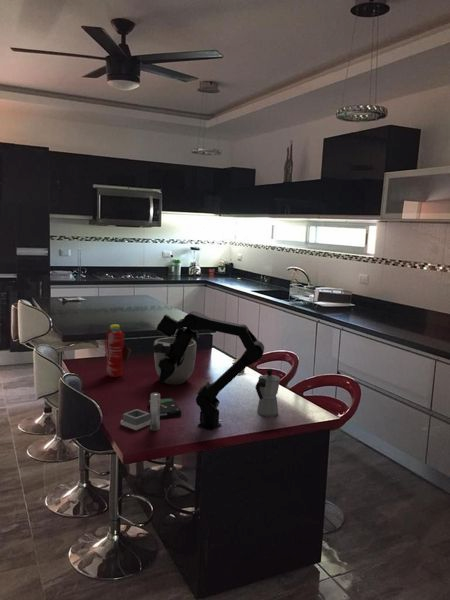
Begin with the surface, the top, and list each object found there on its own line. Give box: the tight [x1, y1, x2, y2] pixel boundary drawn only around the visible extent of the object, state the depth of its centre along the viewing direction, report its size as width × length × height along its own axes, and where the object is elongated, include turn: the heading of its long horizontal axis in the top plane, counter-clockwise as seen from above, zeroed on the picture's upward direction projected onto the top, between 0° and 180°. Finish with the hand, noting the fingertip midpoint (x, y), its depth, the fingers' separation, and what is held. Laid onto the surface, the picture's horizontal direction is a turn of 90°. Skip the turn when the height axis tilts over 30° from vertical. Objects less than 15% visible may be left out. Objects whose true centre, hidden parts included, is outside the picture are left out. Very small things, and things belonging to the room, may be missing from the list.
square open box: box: [120, 408, 150, 431], centre depth 187 cm, size 8×8×4 cm
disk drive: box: [147, 397, 182, 419], centre depth 202 cm, size 10×3×15 cm
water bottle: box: [104, 323, 132, 378], centre depth 243 cm, size 12×8×25 cm, turn 116°
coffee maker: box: [255, 368, 281, 417], centre depth 202 cm, size 15×9×18 cm, turn 141°
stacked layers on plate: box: [232, 358, 246, 374], centre depth 259 cm, size 10×9×6 cm
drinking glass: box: [149, 392, 161, 432], centre depth 183 cm, size 3×3×13 cm
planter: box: [153, 336, 197, 386], centre depth 237 cm, size 20×20×19 cm
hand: (163, 379), depth 188 cm, fingers open, 9 cm apart
